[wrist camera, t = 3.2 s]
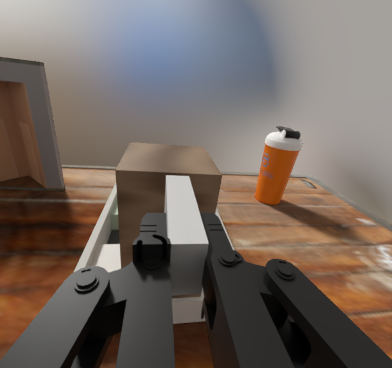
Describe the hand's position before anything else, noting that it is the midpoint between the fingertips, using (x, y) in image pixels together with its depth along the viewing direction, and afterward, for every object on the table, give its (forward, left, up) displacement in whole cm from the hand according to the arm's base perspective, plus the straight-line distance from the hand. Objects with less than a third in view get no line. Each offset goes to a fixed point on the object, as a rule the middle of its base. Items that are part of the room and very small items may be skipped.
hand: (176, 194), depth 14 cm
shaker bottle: (+30, +37, -20) cm, 51 cm away
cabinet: (-35, +43, -20) cm, 59 cm away
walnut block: (0, +9, -16) cm, 18 cm away
